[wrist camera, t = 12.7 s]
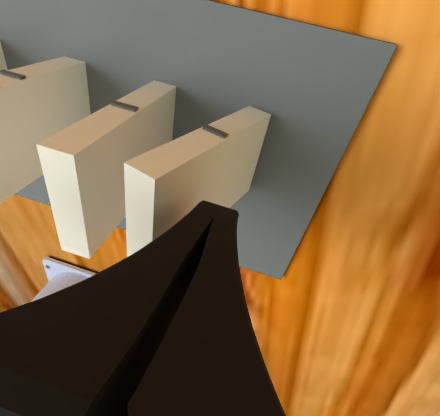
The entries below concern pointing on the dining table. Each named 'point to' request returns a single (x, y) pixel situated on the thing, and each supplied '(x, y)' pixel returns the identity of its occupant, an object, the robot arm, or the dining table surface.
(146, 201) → the tile
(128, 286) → the robot arm
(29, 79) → the tile
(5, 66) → the tile
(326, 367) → the dining table surface
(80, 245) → the tile
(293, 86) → the mat
